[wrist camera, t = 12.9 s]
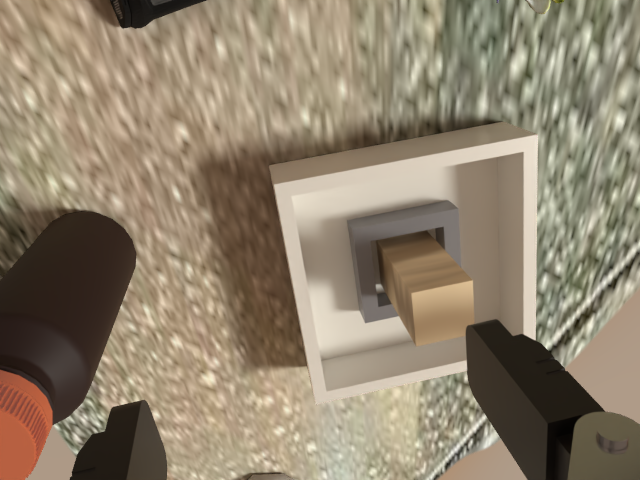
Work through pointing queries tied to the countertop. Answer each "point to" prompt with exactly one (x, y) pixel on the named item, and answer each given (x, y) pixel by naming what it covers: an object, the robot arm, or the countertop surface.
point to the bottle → (56, 328)
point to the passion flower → (541, 5)
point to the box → (399, 219)
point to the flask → (270, 477)
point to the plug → (425, 287)
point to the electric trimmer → (146, 10)
